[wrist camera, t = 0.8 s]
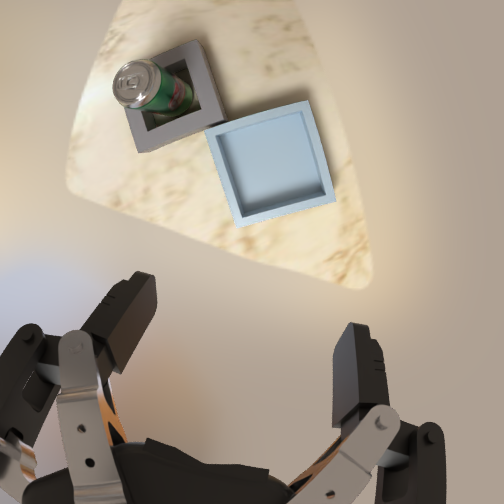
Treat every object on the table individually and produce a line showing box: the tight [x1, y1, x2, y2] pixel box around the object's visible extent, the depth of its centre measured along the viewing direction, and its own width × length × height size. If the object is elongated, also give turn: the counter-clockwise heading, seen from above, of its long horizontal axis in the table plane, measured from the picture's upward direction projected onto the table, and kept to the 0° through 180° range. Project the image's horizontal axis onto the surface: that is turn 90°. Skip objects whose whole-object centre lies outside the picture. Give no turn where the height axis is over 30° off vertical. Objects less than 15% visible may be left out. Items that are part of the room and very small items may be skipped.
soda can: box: [113, 59, 193, 117], centre depth 25 cm, size 5×5×12 cm
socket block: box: [124, 39, 228, 153], centre depth 29 cm, size 11×11×4 cm
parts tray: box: [204, 100, 336, 228], centre depth 32 cm, size 12×12×4 cm
